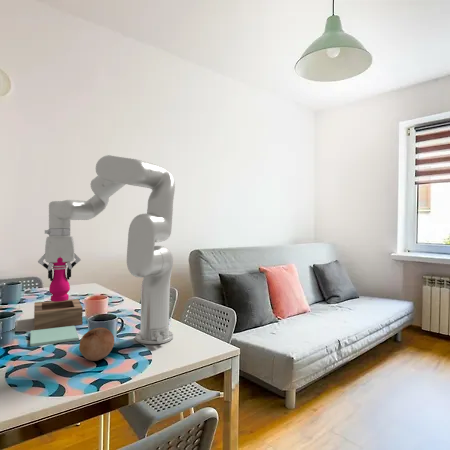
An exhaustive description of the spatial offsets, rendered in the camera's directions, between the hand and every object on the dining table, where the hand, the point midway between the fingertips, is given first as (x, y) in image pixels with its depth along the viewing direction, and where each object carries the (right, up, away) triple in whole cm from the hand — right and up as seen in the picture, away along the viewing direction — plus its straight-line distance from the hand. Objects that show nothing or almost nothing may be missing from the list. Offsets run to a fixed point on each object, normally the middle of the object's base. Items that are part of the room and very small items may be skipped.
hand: (59, 279), depth 131 cm
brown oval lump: (+27, -18, -33) cm, 46 cm away
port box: (-1, -16, 0) cm, 16 cm away
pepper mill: (0, -8, 0) cm, 8 cm away
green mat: (+6, -17, -16) cm, 24 cm away
